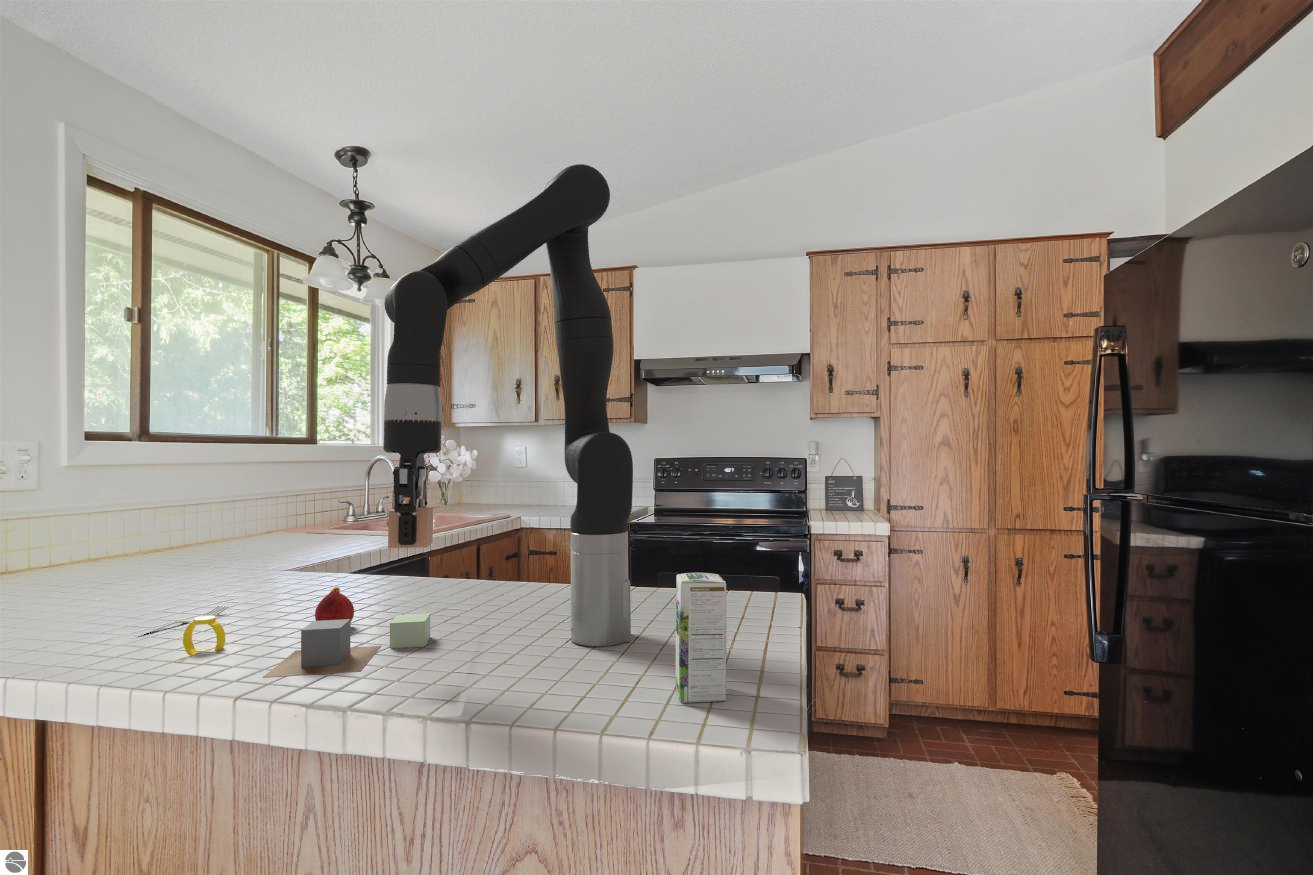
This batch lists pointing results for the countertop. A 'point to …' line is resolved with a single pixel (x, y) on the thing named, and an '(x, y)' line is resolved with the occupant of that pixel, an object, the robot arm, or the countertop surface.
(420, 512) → the terracotta brick
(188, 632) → the watch
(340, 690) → the countertop surface
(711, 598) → the syrup box
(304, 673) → the walnut board
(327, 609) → the onion
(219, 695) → the countertop surface
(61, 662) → the countertop surface
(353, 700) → the countertop surface
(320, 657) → the charcoal brick
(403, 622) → the sage brick
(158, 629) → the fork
